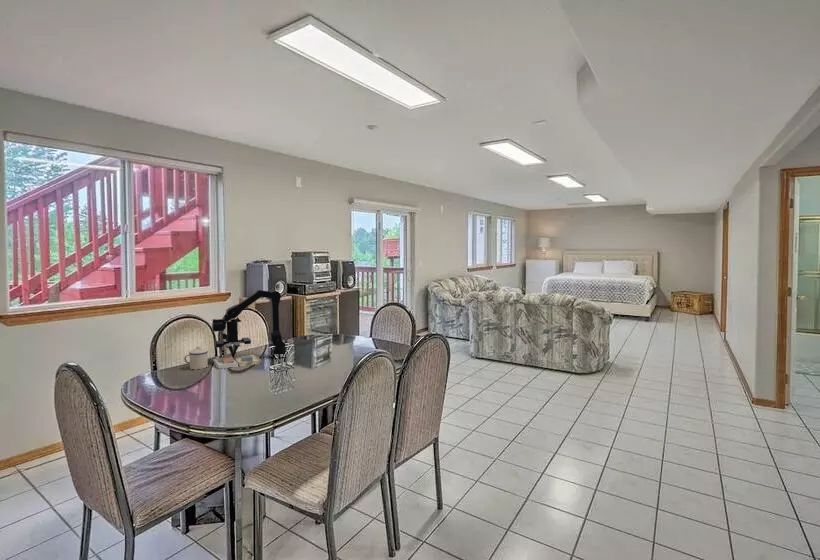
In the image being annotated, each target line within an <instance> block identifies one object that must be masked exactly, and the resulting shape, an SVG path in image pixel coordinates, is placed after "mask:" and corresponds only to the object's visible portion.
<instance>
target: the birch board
mask: <svg viewBox="0 0 820 560" xmlns="http://www.w3.org/2000/svg"><path fill="white" fill-rule="evenodd" d="M249 355H251V356H252V357H253V361H246V362H243V361H242V360H241V356H242V355H240V356H234V358H233V360H235V361H236V362H237V363H238V365H239V366H241V367H247V366H246V365H248V366H254V364H255V365H261V364H260V363H262V364H263V361H262V359H261V358H259V356H257V355H256V354H248V355H246V356H249ZM239 366H238V367H239Z"/></svg>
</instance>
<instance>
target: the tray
mask: <svg viewBox="0 0 820 560" xmlns="http://www.w3.org/2000/svg"><path fill="white" fill-rule="evenodd" d="M225 357H226V356H224V357H217V358H215V357H214V358H212V359H213V360H212V363H213V362H214V363H213V365H214V364H215V365H216V366H217V367H218V368H219V369H218V368H217V367H216V366H215V365H214V366H215V367H216V368H217V369H218V370H221V369H220V368H226V369H230V368H229V367H233V368H239V366H238V363H237V362H236V361H235V360H234V361H232V362H229V363H225V364H224V363H223V361H222V358H225ZM220 361H221V363H220ZM218 362H219V363H218Z"/></svg>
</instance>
